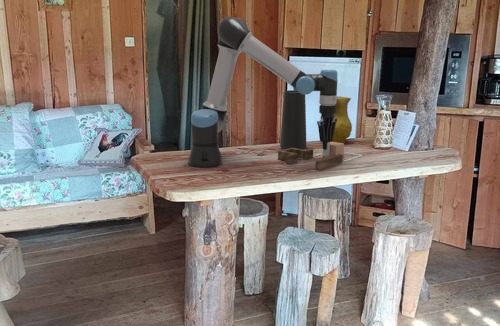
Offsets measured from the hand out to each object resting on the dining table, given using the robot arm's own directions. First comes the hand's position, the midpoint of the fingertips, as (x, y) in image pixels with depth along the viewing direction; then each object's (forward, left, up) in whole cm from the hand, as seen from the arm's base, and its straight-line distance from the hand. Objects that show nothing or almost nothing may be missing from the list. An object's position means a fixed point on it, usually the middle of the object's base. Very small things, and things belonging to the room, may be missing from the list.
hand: (325, 155), depth 224 cm
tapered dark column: (-28, +12, -2) cm, 31 cm away
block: (0, +6, -2) cm, 6 cm away
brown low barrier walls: (-4, -9, -2) cm, 10 cm away
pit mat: (-12, -8, -2) cm, 15 cm away
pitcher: (-20, +40, -2) cm, 45 cm away
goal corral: (0, +11, -2) cm, 12 cm away
